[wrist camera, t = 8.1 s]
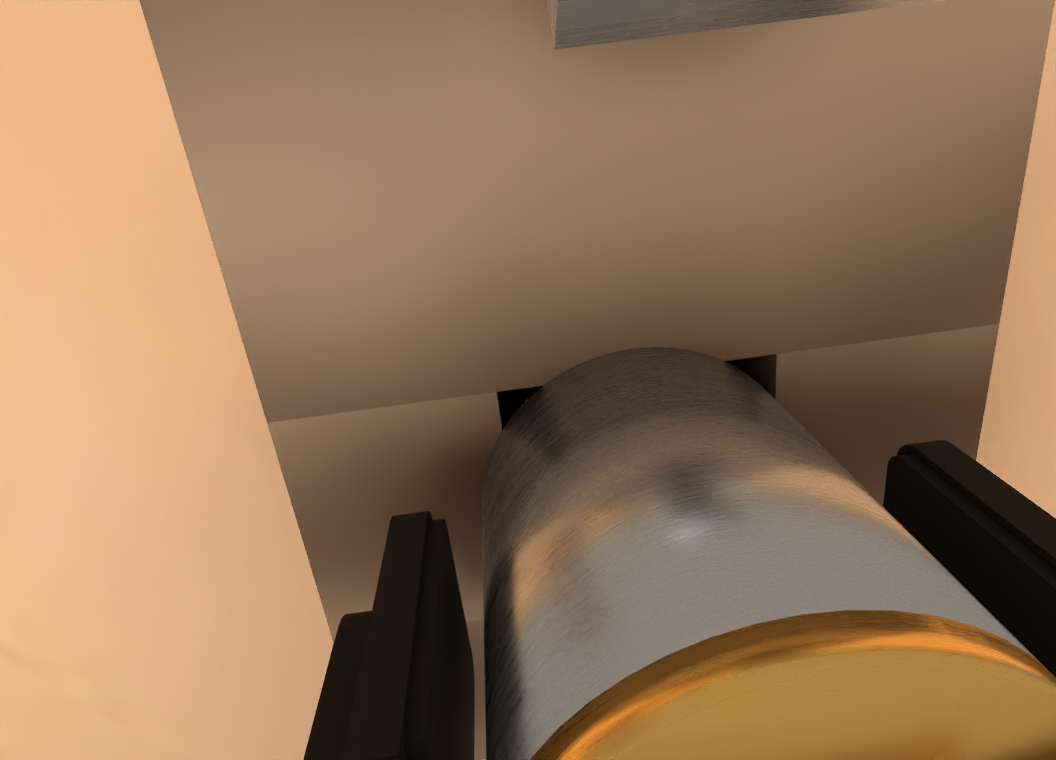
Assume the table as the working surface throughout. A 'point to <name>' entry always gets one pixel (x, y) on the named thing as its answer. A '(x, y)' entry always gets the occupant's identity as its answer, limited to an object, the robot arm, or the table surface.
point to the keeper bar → (684, 16)
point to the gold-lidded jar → (722, 589)
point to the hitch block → (592, 230)
